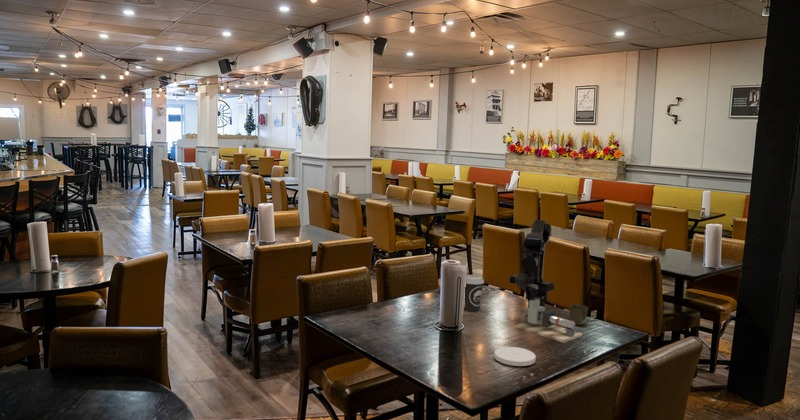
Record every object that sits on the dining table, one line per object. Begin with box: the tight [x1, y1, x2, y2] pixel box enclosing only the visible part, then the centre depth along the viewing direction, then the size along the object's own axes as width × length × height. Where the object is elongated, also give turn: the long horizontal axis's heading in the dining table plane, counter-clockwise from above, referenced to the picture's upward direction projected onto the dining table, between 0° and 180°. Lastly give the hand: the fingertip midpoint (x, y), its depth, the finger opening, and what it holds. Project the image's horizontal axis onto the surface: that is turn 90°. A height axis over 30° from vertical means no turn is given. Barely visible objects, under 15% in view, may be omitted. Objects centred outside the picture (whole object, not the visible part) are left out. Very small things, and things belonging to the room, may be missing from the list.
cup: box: [569, 303, 589, 327], centre depth 241 cm, size 8×7×8 cm
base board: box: [514, 321, 583, 344], centre depth 231 cm, size 23×13×1 cm, turn 42°
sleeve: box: [527, 298, 546, 324], centre depth 234 cm, size 4×6×9 cm, turn 132°
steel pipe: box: [523, 307, 576, 337], centre depth 230 cm, size 22×3×6 cm, turn 42°
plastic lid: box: [493, 346, 537, 367], centre depth 199 cm, size 14×14×2 cm
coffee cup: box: [463, 274, 485, 313], centre depth 257 cm, size 10×10×15 cm
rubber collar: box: [542, 308, 556, 327], centre depth 230 cm, size 2×6×6 cm, turn 132°
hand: (530, 303), depth 237 cm, fingers closed
